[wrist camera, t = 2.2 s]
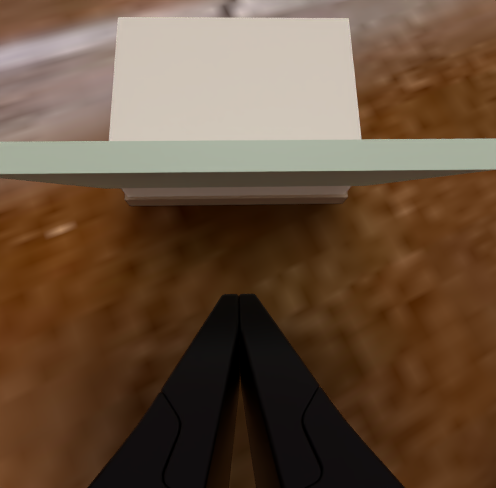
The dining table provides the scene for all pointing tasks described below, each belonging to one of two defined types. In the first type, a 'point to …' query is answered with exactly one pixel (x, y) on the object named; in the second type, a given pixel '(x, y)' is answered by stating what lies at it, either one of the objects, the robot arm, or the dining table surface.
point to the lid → (243, 162)
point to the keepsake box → (234, 93)
